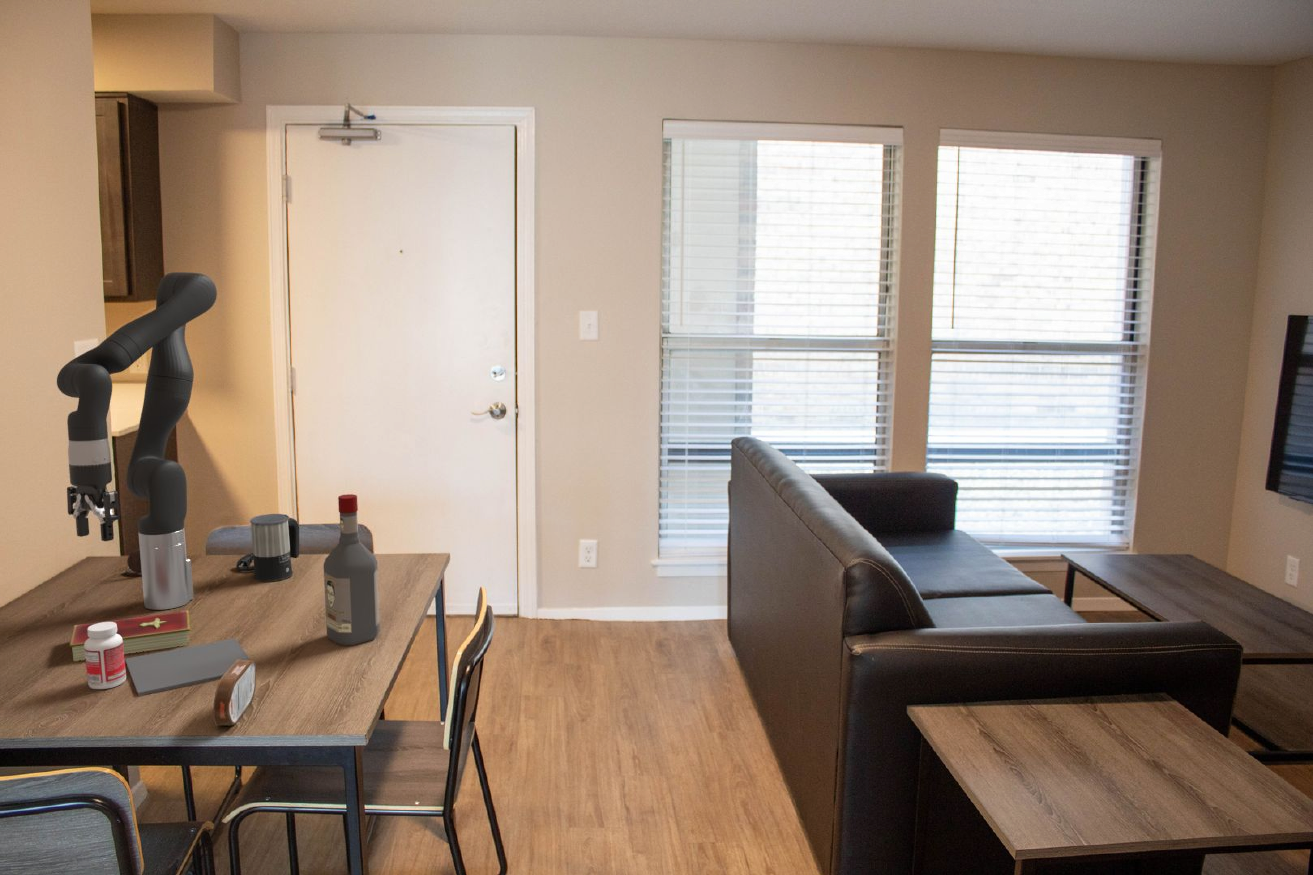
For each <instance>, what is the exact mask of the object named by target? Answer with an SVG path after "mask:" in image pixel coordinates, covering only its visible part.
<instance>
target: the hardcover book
mask: <svg viewBox="0 0 1313 875" xmlns="http://www.w3.org/2000/svg"><path fill="white" fill-rule="evenodd" d="M102 622H103V621H100V622H99V621H98V622H93V623H92V622H91V623H83V624H75V625H73V628H72V632H71V636H70V637H71V638H70V642H69V648H72V649H71V650H72V660H73V661H74V662H80V661H79V660H81V661H86V660H85V649H84V644H85V642H86V640H87V639H89V638H90V637H88V630H87V629H88V627H90V626H91V625H94V624H97V623H102ZM104 622H114V623H116V624H117V633H116V634H119V635H120V636H121V637H122V640H123V649H124V655H129V653H130V654H136V652H137V653H142V652H143V651H144V652H150V651H156V650H163V649H171V648H177V646H179V647H185V646H186V647H187V646H189V645H190V642H189V641H190V640H189V639H190V638H189V632H190V631H191V627H190V625H191V624H190V613H189V610H184V611H177V612H176V611H175V612H168V613H162V614H154V615H146V616H139V617H132V618H131V617H129V618H121V619H115V620H107V621H104Z"/></svg>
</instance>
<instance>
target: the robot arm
mask: <svg viewBox="0 0 1313 875" xmlns="http://www.w3.org/2000/svg"><path fill="white" fill-rule="evenodd" d="M160 279H161V280H160V281H159V284H158V287H157V291H156V298H155V299H156V300H155V309H153V310H152V311H150V312H147V313H145V314H143V315H142V316H139V317H138V318H135V319H133V320H131V321H129V322H127V323H126V324H124V325H122V326H121V327H119V328H118V329H116V330H115V331H113V333H112V334H110V335H109V336H108V337H107V338H105V339H104V340H102V341H101V343H100V344H98V345H97V346H95V347H94V348H91V349H89V350H88V351H85V352H84V353H81V354H80V355H79V356H77V357H74V358H73V359H72V360H70V361H69V362H67V363H66V364H65V365H64V366H63V367H62V368H61V369H60V370H59V372H58V374H57V377H56V387H57V389H58V390H59V391H60V392H61V393H62V394H63V395H65V396H68V397H70V398H75V399H78V403H77V408H76V410H73V411H71V412H70V413H68V416H67V437H68V444H67V445H68V448H67V457H68V472H69V481H70V482H69V483H70V485H71V486H68V487H67V488H66V498H67V499H66V500H67V504H66V505H67V513H68V515H69V516H71V515H72V517H73V519H75V527H76V536H77V537H86V536H89V535H90V525H89V523H90V522H89V517H88V516H89V513H90V512H93V515H95V516H96V517H97V518H98V520H99V522H100V524H99V525H100V538H101V541H102V542H109V541H113V540H114V539H115V538H114V536H115V535H114V533H115V532H114V522H115V521H117V520H120V519H121V513H120V511H121V510H120V503H119V493H118V491H117V490H113V491H108V487H107V485H108V484H110V483H111V482H112V481H113V475H112V473H113V472H112V459H111V458H112V457H111V448H110V443H109V434H108V421H107V417H108V413H109V409H110V404H111V399H112V395H113V381H112V376H111V375H113V374H118V373H122V372H124V371H126V370H127V369H128V368H130V367H132V365H133V364H135V362H137V361H138V360H139V359H140V358H141V357H142V356H144V354H146V353H147V352H148V351H150V349H151V352H150V353H151V355H150V361H149V365H148V372H147V375H146V380H145V381H146V382H145V388H144V398H143V403H142V408H141V409H142V410H141V414H140V419H139V424H138V430H137V434H136V437H135V438H136V439H135V441H134V445H133V448H132V453H131V456H130V460H129V463H128V467H127V470H126V476H125V479H126V486H127V489H128V491H129V492H130V494H131V495H133V497H135V498H138V499H144V500H148V502H149V506H148V507H149V508H148V509H149V512H148V513H147V514H146V515H142V516H141V517H140V518H138V521H137V532H138V544H139V549H140V557H141V570H142V575H141V579H142V580H141V581H142V594H143V605H144V608H146V609H149V610H157V611H158V610H161V611H162V610H170V609H174V608H179V607H182V606H184V605H187V604H188V603H189V602H190V601H192V600H194V587H193V586H194V585H193V575H192V571H193V570H192V560H191V558H188V557H187V546H186V544H187V543H186V534H185V519H186V517H187V514H188V513H187V512H188V486H187V484H188V483H187V477H186V473H185V470H184V468H183V467H182V466H181V464H180V463H179V462H177V461H174V460H170V459H165V452H166V450H167V449H166V448H167V443H168V439H169V437H170V435H171V433H172V431H173V430H174V428H175V426H176V425H177V424H178V422H179V421H180V419H181V418H182V416H183V415H184V414H185V412H186V411H187V408H189V404H190V400H191V396H192V390H193V386H194V375H195V374H194V367H193V364H192V363H193V362H192V360H191V357H190V354H189V351H188V347H187V343H186V326H187V324H188V323H189V322H191V321H193V320H195V319H196V318H198V317H200V316H201V315H204V314H205V313H206V312H208V311H209V310H210V309H212V307H213V306H214V304H215V303H216V301H217V296H218V292H217V291H218V290H217V287H216V283H215V282H214V281H213V280H212V279H211V277H210V276H207V275H206V274H202V273H198V272H188V271H187V272H183V271H182V272H179V271H178V272H177V271H176V272H175V271H174V272H168V273H167V274H165V275H164V276H163V277H162V278H160Z"/></svg>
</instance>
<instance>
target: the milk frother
mask: <svg viewBox="0 0 1313 875" xmlns="http://www.w3.org/2000/svg"><path fill="white" fill-rule="evenodd" d="M249 523H250V529H251V543H252V552H251V553H248V554H246V555H244V556H243V557H241V558H239V559H238V561H237V562H236V568H237V570H239V571H242V572H253V575H252V578H253V579H254V580H255V581H258V582H263V583H264V582H266V583H267V582H277V581H283V580H286V579H288V578H290V577H292V576H293V574H294V572H293V569H292V560H291V558H292V559H297V558H299V557H300V524H299V522H298V520H296V519H295V518H293V517H290V516H289V515H287V514H284V513H283V514H282V513H268V514H261V515H257V516H253V517H251V518H250V519H249ZM252 563H253V565H251V564H252Z"/></svg>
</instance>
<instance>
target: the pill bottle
mask: <svg viewBox="0 0 1313 875" xmlns="http://www.w3.org/2000/svg"><path fill="white" fill-rule="evenodd" d="M101 622H102V623H97V622H96V623H97V624H94V625H91V626H90V627H88V629H87V630H88V637H90V638H89V639H87V640H86V642H85V644H84V649H85V659H86V660H85V669H86V676H87V677H86V678H87V684H88V687H89V688H90V689H92V690H107V689H112V688H115V687H116V688H117V687H118V686H119V685H120V686H121V685H122V684H123V683H124V682H126V680H127V679H126V678H127V672H126V662H125V659H126V658H125V654H124V649H123V640H122V637H121V636H120V635H119V634H116V633H117V624H116V623H114V622H105V621H101Z"/></svg>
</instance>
